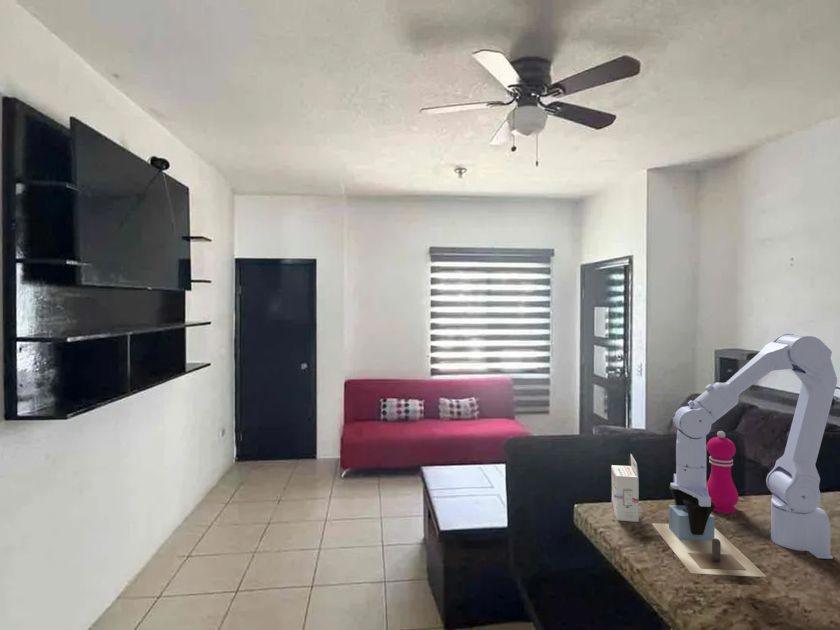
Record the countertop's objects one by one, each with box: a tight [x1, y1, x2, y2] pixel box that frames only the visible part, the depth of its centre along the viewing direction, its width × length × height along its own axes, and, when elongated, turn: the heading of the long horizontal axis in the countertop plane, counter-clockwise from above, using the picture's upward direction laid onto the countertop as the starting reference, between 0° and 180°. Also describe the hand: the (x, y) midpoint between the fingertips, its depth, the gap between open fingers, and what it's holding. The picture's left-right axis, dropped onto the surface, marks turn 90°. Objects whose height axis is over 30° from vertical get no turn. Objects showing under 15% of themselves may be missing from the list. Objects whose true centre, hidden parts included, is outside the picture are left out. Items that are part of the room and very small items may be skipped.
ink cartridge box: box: [610, 453, 640, 523], centre depth 123 cm, size 9×5×15 cm, turn 168°
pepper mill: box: [706, 430, 739, 514], centre depth 126 cm, size 7×7×20 cm
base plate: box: [651, 522, 768, 578], centre depth 106 cm, size 13×22×6 cm, turn 174°
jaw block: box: [668, 504, 715, 541], centre depth 112 cm, size 7×6×5 cm
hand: (690, 527), depth 112 cm, fingers closed on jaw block, 6 cm apart
